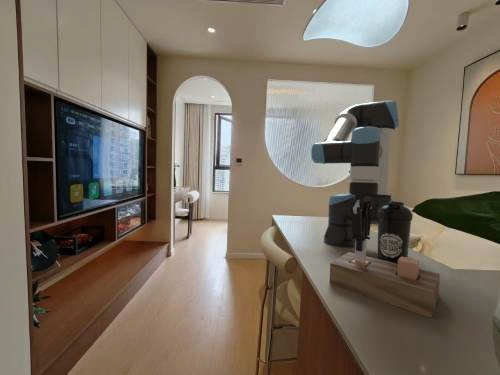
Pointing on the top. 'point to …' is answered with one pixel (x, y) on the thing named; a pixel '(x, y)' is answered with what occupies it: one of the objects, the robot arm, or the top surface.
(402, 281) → the socket block
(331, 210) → the robot arm
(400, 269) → the peg
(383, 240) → the water bottle
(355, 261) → the peg
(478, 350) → the top surface
